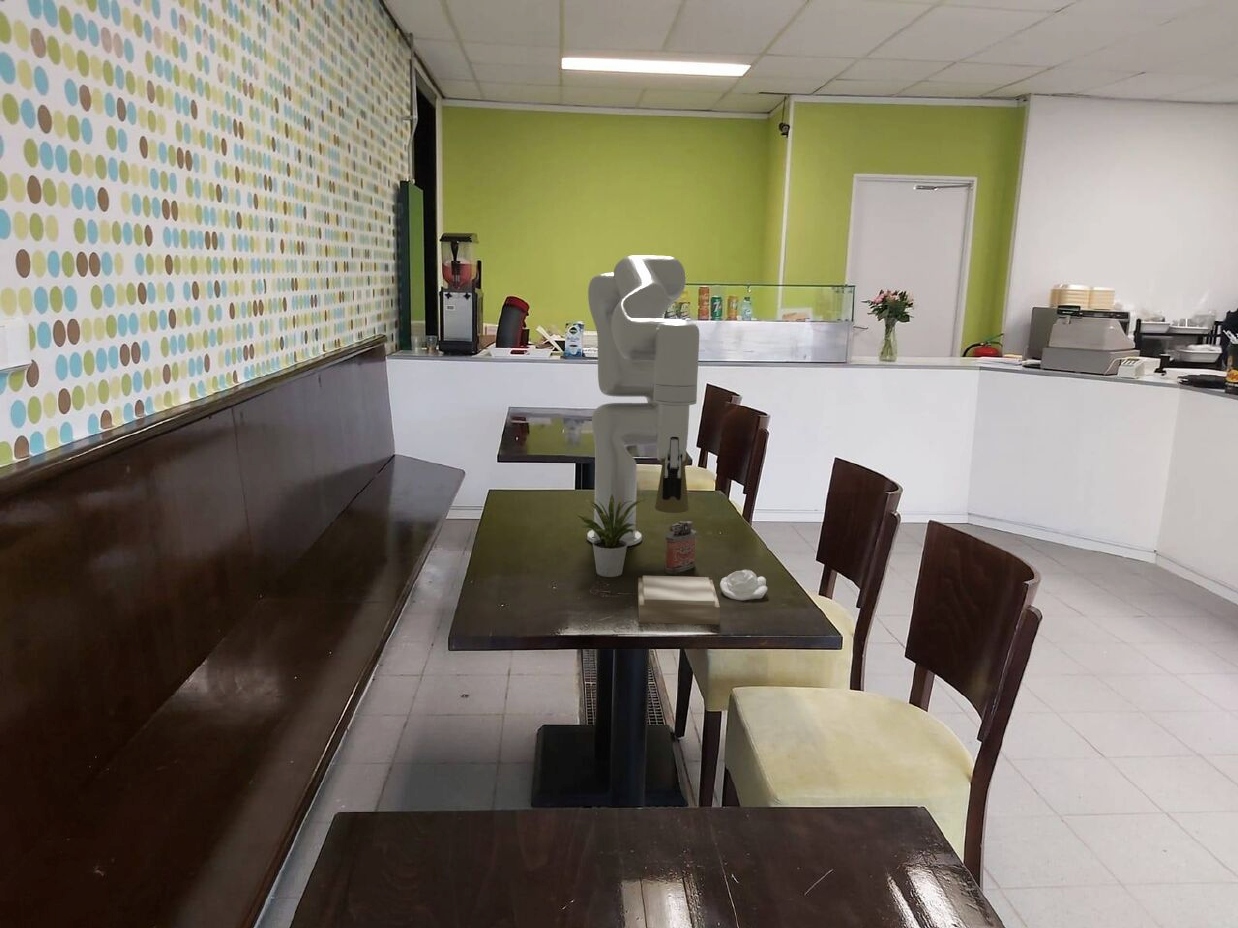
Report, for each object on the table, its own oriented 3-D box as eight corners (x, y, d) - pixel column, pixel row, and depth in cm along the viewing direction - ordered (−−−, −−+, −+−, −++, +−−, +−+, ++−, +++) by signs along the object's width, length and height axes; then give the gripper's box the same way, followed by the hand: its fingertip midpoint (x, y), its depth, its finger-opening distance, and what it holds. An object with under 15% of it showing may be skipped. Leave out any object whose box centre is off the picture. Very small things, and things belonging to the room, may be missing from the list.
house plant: (622, 556, 187) (624, 483, 183) (660, 574, 175) (663, 497, 172) (565, 566, 179) (566, 490, 175) (601, 587, 168) (603, 505, 164)
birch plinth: (638, 593, 164) (638, 574, 164) (711, 595, 164) (712, 575, 164) (638, 622, 151) (639, 600, 150) (718, 624, 151) (720, 602, 150)
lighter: (686, 562, 184) (688, 516, 182) (698, 566, 182) (700, 520, 180) (661, 570, 178) (662, 523, 176) (673, 574, 176) (675, 527, 174)
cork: (682, 514, 151) (685, 453, 148) (650, 510, 153) (652, 449, 150) (692, 506, 156) (695, 446, 154) (661, 502, 158) (663, 443, 156)
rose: (780, 571, 166) (752, 583, 159) (778, 593, 167) (751, 606, 160) (737, 559, 173) (708, 571, 166) (735, 580, 174) (707, 592, 167)
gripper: (652, 387, 158) (649, 485, 161) (654, 400, 142) (650, 508, 145) (693, 389, 157) (689, 486, 161) (699, 401, 141) (694, 509, 145)
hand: (671, 495), depth 153 cm, fingers closed on cork, 3 cm apart
